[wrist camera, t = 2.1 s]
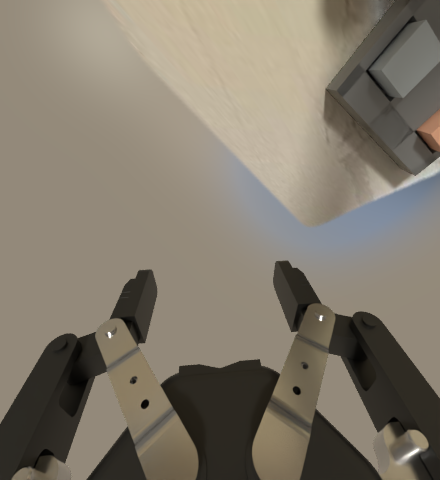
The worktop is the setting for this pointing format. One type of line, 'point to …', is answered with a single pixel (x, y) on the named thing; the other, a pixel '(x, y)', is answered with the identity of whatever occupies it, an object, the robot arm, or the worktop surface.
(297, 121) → the worktop surface
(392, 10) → the keypad
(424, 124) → the terracotta key
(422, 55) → the slate key
